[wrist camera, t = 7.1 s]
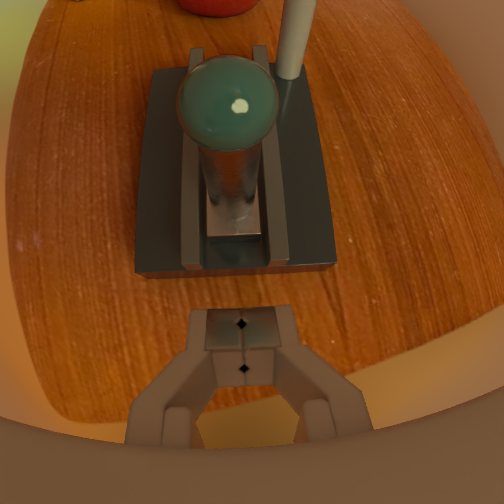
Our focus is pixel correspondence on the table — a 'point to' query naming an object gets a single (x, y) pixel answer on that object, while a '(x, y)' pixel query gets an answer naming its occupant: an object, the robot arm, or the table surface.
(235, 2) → the apple
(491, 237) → the table surface
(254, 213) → the tap handle
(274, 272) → the tap base
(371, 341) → the table surface
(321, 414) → the robot arm
